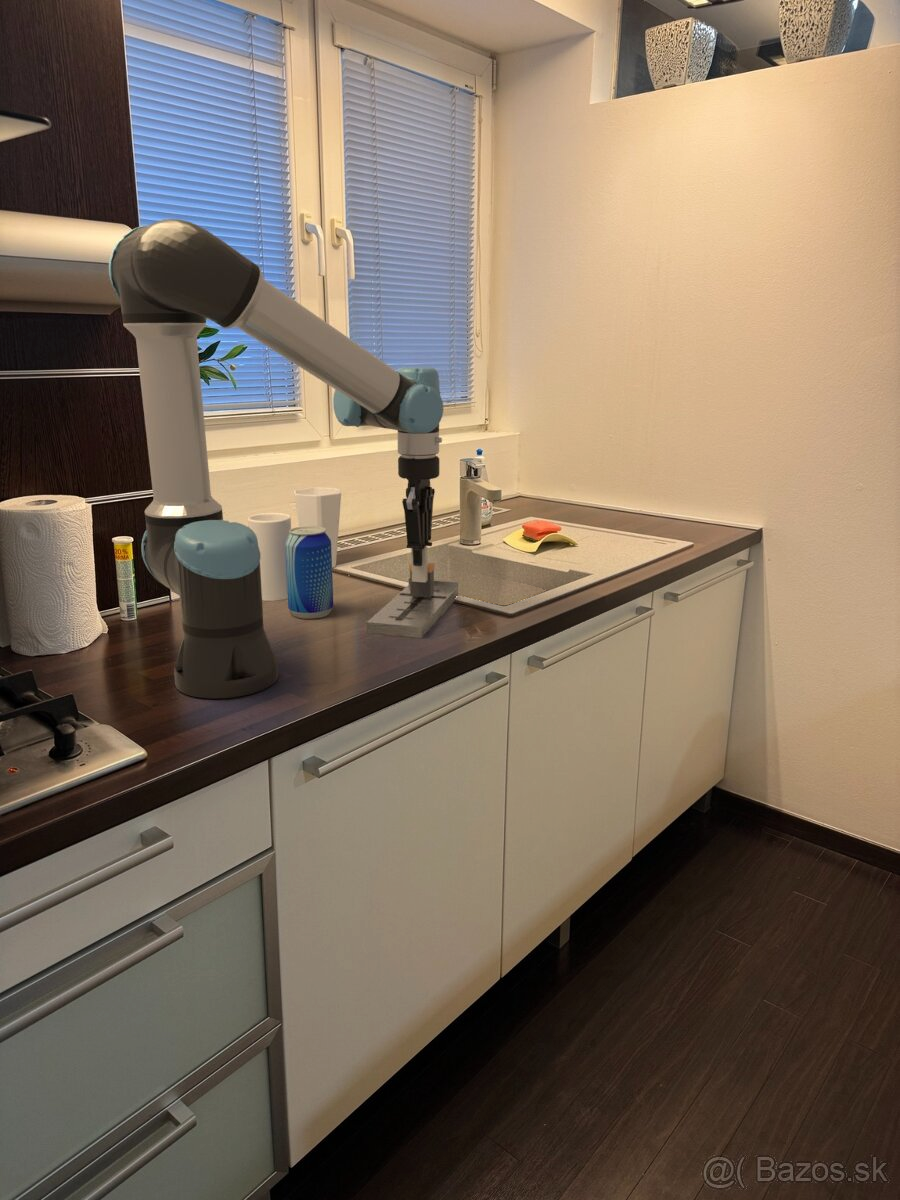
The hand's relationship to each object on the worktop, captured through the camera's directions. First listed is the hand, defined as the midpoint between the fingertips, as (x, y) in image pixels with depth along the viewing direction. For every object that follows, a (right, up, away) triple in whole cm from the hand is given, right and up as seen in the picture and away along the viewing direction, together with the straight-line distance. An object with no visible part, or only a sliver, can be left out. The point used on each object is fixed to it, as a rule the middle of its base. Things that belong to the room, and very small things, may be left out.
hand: (419, 580), depth 163 cm
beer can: (-20, -6, -1) cm, 21 cm away
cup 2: (-24, +4, +33) cm, 41 cm away
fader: (0, -3, +3) cm, 4 cm away
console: (-1, -6, -1) cm, 6 cm away
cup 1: (-30, -3, +11) cm, 32 cm away
